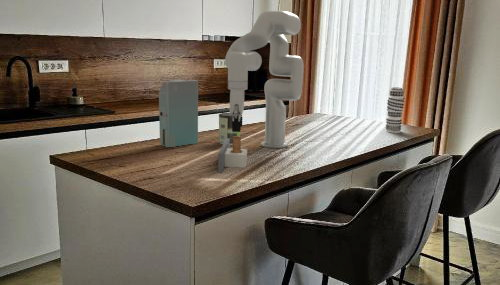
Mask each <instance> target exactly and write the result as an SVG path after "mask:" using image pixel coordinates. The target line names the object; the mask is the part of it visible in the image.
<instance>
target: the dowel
mask: <svg viewBox="0 0 500 285" xmlns="http://www.w3.org/2000/svg"><path fill="white" fill-rule="evenodd" d="M241 145H242V136H233V145H232V148H233V150H232V153H241V149H242V146H241Z"/></svg>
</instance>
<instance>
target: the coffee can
mask: <svg viewBox="0 0 500 285" xmlns="http://www.w3.org/2000/svg"><path fill="white" fill-rule="evenodd" d="M229 113H230V112H221V113H218V144H219V143H220V144H219V145H222V144H224V142H225V140H226V138H230V146H233V136H240V135H241V131H240V132H232V121H233V114H232V115H229Z"/></svg>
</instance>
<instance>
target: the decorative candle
mask: <svg viewBox="0 0 500 285" xmlns="http://www.w3.org/2000/svg"><path fill="white" fill-rule="evenodd" d="M404 94H405V90H404V89H403V88H402V87H398V86H397V87H394V86H393V87H391V88H390V89H389V94H388V99H387V102H386V104H387V107H386V108H387V109H386V111H387V116H386V119H385V120H386V121H385V123H386V124H385V132H387V133H392V134H394V133H395V134H398V133H401V132H402V131H401V130H402V121H403V120H402V118H403V117H402V113H403V112H404V110H403V109H404V105H405V104H404V102H405V97H404Z"/></svg>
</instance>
